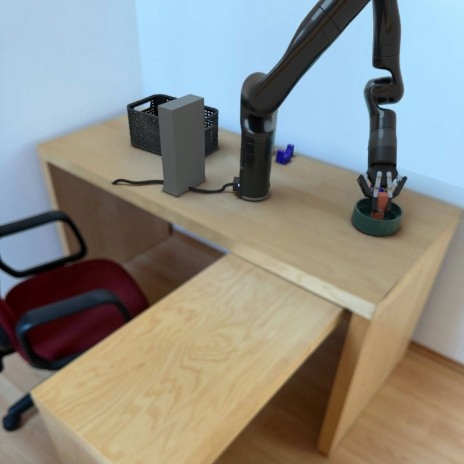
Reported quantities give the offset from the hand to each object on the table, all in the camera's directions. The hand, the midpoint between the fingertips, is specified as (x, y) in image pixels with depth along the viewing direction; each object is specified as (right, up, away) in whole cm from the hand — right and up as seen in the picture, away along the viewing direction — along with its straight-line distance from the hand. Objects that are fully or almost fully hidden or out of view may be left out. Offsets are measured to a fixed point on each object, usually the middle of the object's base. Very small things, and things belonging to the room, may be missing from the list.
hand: (381, 212), depth 119 cm
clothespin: (0, -2, +4) cm, 5 cm away
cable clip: (+4, +8, +16) cm, 18 cm away
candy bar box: (-31, +31, +39) cm, 59 cm away
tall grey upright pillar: (-56, +12, +18) cm, 60 cm away
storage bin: (-61, +33, +40) cm, 81 cm away
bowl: (0, -2, +5) cm, 5 cm away
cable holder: (-22, +26, +35) cm, 49 cm away
